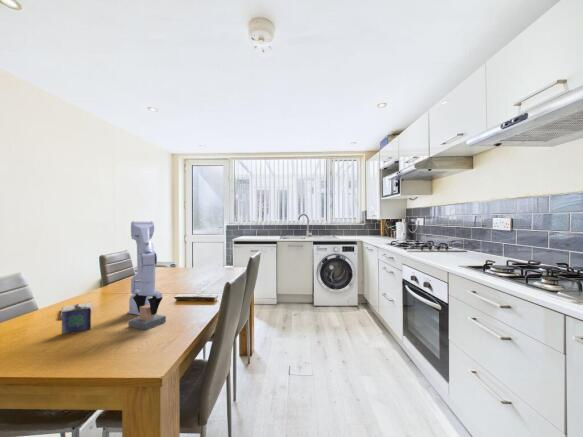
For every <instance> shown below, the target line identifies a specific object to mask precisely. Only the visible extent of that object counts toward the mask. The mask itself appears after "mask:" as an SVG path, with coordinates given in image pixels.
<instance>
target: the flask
mask: <svg viewBox="0 0 583 437" xmlns="http://www.w3.org/2000/svg"><path fill="white" fill-rule="evenodd" d="M79 304H80V303H77V304H74V305H75V306H74V308H75V309H70V310H64V311H62V320H61V335H68V334H75V333H81V332H86V331H90V330H91V328H92V327H91V326H92V319H91V318H92V313H91V311H92V310H91V308H90V307H84V308H82V307H80V306H78V305H79Z"/></svg>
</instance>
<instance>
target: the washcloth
mask: <svg viewBox="0 0 583 437" xmlns="http://www.w3.org/2000/svg"><path fill="white" fill-rule="evenodd" d="M78 304H79V305H78V306H80V307H82V308H84V307H90V308H91V314H92V311H93V306H92V303H91V302H83V303H78ZM75 305H76V304H73V305H66V306H62V307H61V309H60V320H61V321H62V311H64V310H70V309H75V308H74V306H75Z"/></svg>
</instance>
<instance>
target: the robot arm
mask: <svg viewBox="0 0 583 437" xmlns="http://www.w3.org/2000/svg"><path fill="white" fill-rule="evenodd" d="M154 233H155V222H154V221H134V220H132V221H131V222H130V237H131V239H132V240H133V241H135V242H136V243H135V244H136V257H137V258H136V261H137V262H136V264H137V266H136V267H137V273H136V274H135V275H133V276H132V277H131V279H130V294H131V295H130V297H129V303H128V304H129V305H128V306H129V308H128V311H127V314H132V315H137V316H140V307H141V306H145V305H150V308H151V315H154V314H157V313H158V309H159V305H160V303H161V302H162V300H163V292H161V291H157V290H156V266H157V262H158V256H157V252H156V251H155V249H154V244H153V242H152V241H150V240H151V239H152V238H153V236H154Z"/></svg>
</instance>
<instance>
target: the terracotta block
mask: <svg viewBox="0 0 583 437" xmlns="http://www.w3.org/2000/svg"><path fill="white" fill-rule="evenodd" d="M139 317H140V319H143V320H148V319H151V318H154V315H151V308H150V305H145V306H141V307H140V315H139Z"/></svg>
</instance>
